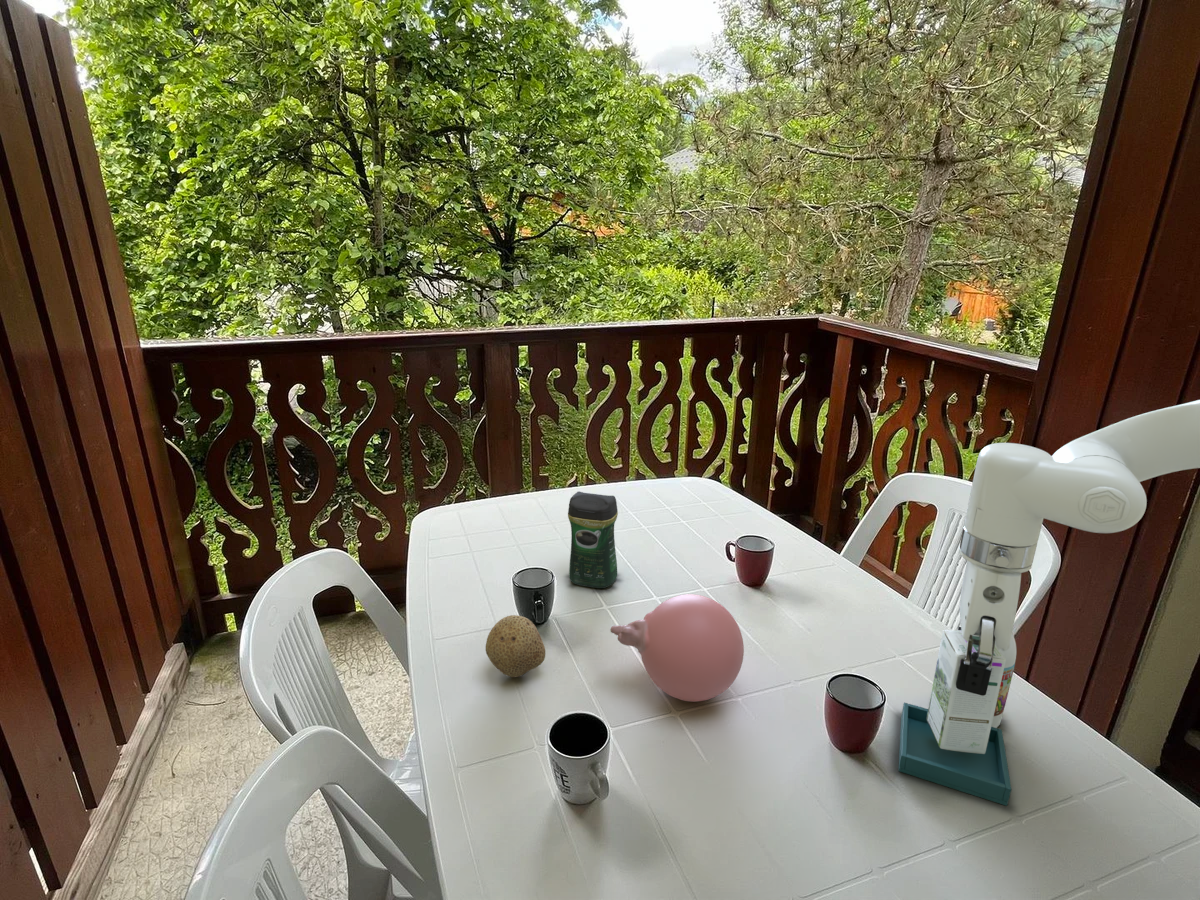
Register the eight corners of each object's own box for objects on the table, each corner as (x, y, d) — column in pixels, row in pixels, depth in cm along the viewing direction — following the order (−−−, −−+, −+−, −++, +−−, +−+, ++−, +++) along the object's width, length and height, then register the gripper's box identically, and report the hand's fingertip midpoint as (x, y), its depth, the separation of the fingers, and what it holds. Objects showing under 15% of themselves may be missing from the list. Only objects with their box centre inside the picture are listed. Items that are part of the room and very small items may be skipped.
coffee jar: (621, 574, 132) (622, 490, 126) (609, 593, 125) (610, 505, 119) (577, 566, 135) (577, 484, 129) (563, 584, 128) (562, 499, 122)
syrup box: (986, 755, 81) (1010, 659, 77) (937, 749, 82) (958, 654, 77) (969, 723, 86) (990, 631, 82) (923, 718, 87) (941, 627, 83)
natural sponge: (479, 664, 103) (476, 610, 100) (530, 649, 107) (528, 597, 104) (497, 698, 96) (494, 641, 93) (551, 680, 100) (550, 625, 97)
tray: (998, 744, 87) (1001, 729, 87) (1007, 806, 78) (1011, 789, 77) (901, 716, 93) (903, 702, 92) (898, 771, 83) (901, 755, 82)
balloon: (618, 649, 107) (620, 568, 103) (739, 664, 104) (746, 581, 99) (600, 711, 93) (601, 621, 88) (740, 732, 89) (748, 638, 85)
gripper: (1046, 588, 66) (1010, 726, 72) (1023, 525, 81) (995, 644, 87) (964, 572, 70) (936, 706, 75) (957, 514, 84) (934, 630, 90)
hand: (968, 672), depth 81 cm, fingers closed on syrup box, 6 cm apart
